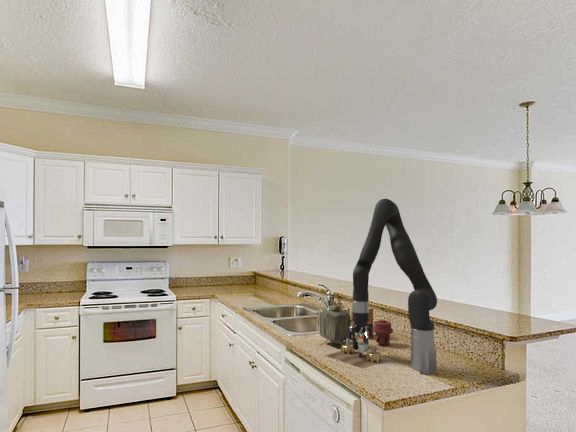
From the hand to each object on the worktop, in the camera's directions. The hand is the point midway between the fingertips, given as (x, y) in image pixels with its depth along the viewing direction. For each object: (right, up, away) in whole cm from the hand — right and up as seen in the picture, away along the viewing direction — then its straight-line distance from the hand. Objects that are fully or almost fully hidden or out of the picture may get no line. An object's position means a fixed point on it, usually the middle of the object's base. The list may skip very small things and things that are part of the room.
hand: (360, 347), depth 176 cm
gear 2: (+5, -3, -6) cm, 8 cm away
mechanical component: (+15, -6, +22) cm, 27 cm away
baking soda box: (+8, -7, +38) cm, 40 cm away
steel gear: (0, -1, 0) cm, 1 cm away
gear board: (-3, -4, -3) cm, 6 cm away
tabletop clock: (-10, -6, +18) cm, 21 cm away
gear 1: (-5, -4, +6) cm, 8 cm away
